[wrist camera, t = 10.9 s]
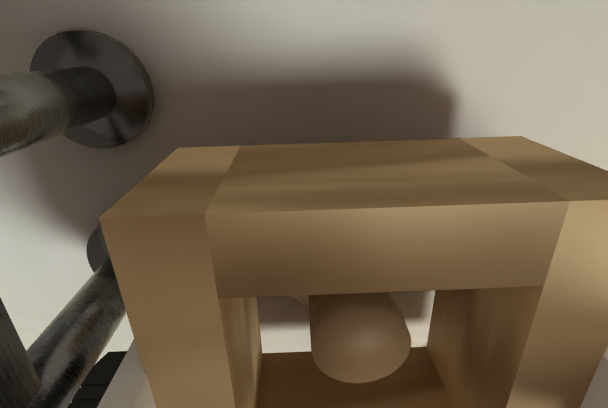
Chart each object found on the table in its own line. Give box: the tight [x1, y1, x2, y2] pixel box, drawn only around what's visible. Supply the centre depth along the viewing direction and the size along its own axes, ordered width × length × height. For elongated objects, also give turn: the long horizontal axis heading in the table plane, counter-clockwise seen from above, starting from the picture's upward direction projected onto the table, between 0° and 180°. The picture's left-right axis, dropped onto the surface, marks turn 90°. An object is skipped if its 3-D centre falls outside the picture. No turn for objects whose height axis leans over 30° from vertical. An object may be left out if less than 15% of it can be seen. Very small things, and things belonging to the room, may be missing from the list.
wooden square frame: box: [99, 136, 608, 408], centre depth 11 cm, size 11×11×5 cm
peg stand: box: [291, 292, 411, 383], centre depth 13 cm, size 6×6×6 cm
